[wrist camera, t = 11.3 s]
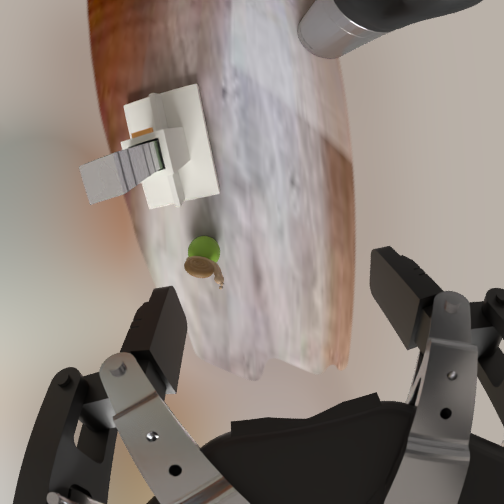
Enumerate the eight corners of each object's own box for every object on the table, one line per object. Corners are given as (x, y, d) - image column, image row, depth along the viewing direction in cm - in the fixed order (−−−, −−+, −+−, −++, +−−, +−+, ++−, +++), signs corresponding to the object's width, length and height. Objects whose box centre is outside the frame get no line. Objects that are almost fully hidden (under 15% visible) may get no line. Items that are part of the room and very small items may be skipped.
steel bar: (144, 144, 33) (78, 166, 17) (167, 137, 33) (113, 152, 17) (149, 167, 34) (89, 205, 19) (172, 161, 34) (124, 194, 19)
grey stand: (128, 106, 38) (87, 103, 25) (198, 85, 37) (181, 69, 25) (152, 205, 46) (124, 238, 33) (220, 190, 45) (213, 219, 33)
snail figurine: (222, 262, 51) (219, 302, 40) (188, 255, 50) (176, 292, 39) (229, 236, 49) (227, 270, 38) (193, 228, 48) (181, 260, 37)
